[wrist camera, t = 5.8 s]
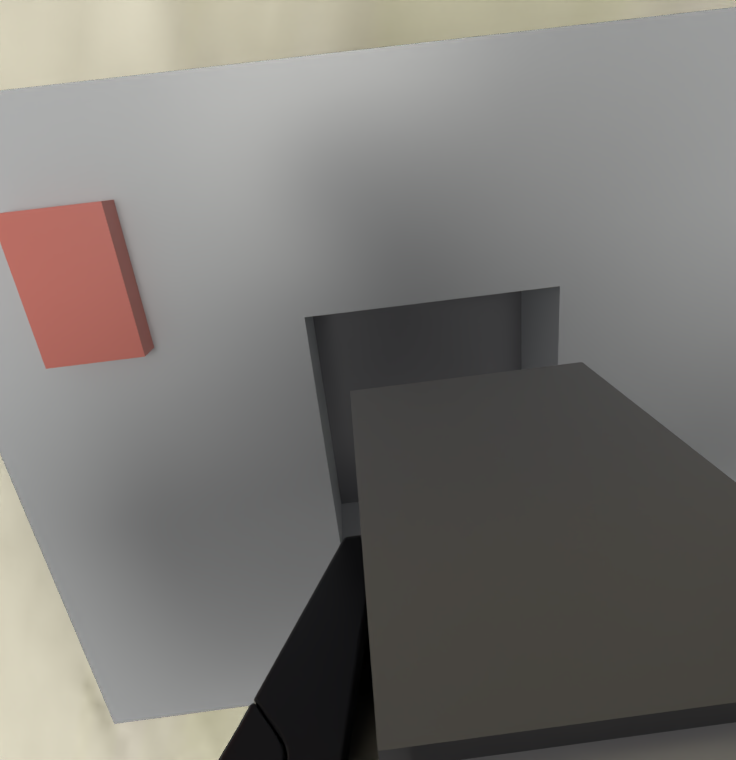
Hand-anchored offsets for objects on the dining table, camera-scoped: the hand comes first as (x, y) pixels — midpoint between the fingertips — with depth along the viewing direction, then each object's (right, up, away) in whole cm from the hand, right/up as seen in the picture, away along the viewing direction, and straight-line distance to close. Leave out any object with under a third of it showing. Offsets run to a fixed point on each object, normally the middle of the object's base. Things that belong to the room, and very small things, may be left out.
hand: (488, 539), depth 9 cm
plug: (0, 0, +1) cm, 1 cm away
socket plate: (0, +2, +6) cm, 7 cm away
